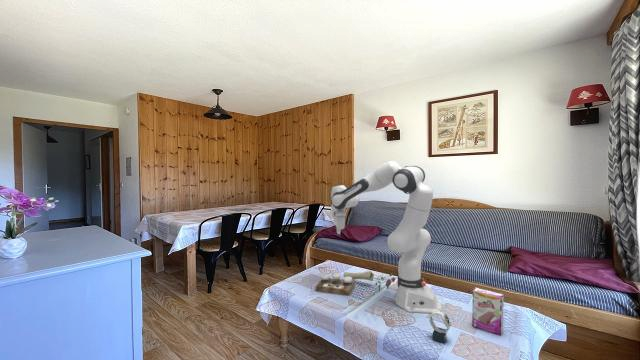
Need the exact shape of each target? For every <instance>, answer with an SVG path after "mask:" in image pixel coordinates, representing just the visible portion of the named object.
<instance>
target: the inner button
mask: <svg viewBox="0 0 640 360" xmlns="http://www.w3.org/2000/svg"><path fill="white" fill-rule="evenodd" d="M343 280H344V282H345V283H351V282H352V281H353V280H352V277H350V276H346V277H343Z"/></svg>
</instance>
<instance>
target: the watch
mask: <svg viewBox="0 0 640 360" xmlns="http://www.w3.org/2000/svg"><path fill="white" fill-rule="evenodd" d="M430 314H431V315H430V316H429V321H428V322H429V323H430V326H431V328H432V329H433V331H432V341H434V342H437V343H440V344H445V343H446V339H447V334H448V333H447V332H449V330H450V327H451V325H452V324H451V320H450V318H449V315H448V314H447V313H444V312H443V311H442V310H441V311H434V312H433V313H430ZM433 315H439V316H440V318H441V321H442V323H443V325H444V326H445V327H446V328H442V327H438V326H436V323H435V322H434V319H433Z"/></svg>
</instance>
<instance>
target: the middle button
mask: <svg viewBox="0 0 640 360" xmlns="http://www.w3.org/2000/svg"><path fill="white" fill-rule="evenodd" d="M331 277H332V279H340V280H341V277H342V275H341V273H340V272H333V273H331Z"/></svg>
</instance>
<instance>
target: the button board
mask: <svg viewBox="0 0 640 360" xmlns="http://www.w3.org/2000/svg"><path fill="white" fill-rule="evenodd" d="M355 284H356V282H355V280H352V282H351V283H345V282H344V279H341V278H340V279H333V278H330V279H329V280H322V279H321V280H319V282H318V283H317V284H316V286H315V292H320V293H324V294H325V293H326V294H332V295H340V296H346V297H350V295H351V294H352V292H353V291H354V288H355V287H356V285H355Z"/></svg>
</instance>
